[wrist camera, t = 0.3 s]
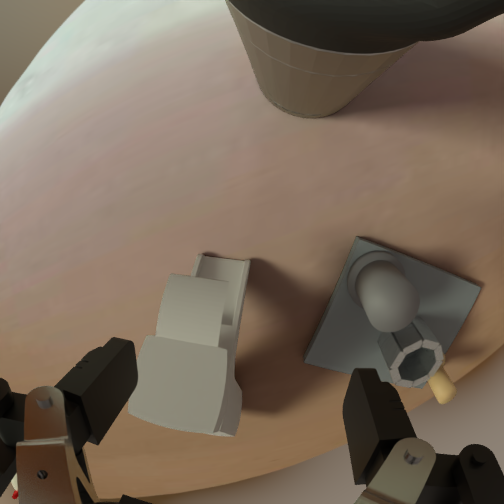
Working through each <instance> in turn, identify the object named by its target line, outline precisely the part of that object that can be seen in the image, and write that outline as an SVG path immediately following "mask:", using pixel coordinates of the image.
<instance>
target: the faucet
mask: <svg viewBox="0 0 504 504" xmlns="http://www.w3.org/2000/svg"><path fill="white" fill-rule="evenodd" d="M250 264H251V261H250V260H245V261H242V260H233V259H225V258H216V257H208V256H204V255H203V254H198V255H197V258H196V261H195V264H194V267H193V270H192V273H191V276H186V275H179V274H170V276H169V279H168V282H167V285H166V288H165V291H164V294H163V298H162V302H161V306H160V311H159V316H158V322H157V328H156V336H151V335H147V336H146V338H145V341H144V343H143V345H142V348H141V350H140V353H139V356H138V359H137V369H138V383H137V386H136V388H135V390H134V392H133V393H132V395H131V396H130V398H129V405H128V413H130V414H132V415H134V416H136V417H138V418H140V419H143V420H145V421H148V422H151V423H154V424H157V425H160V426H163V427H167V428H171V429H176V430H182V431H188V432H197V433H205V434H210V435H217V436H235V434H236V432H237V429H238V425H239V421H240V416H241V409H242V390H241V389H240V387H239V385H238V383H237V382H236V380H235V376H234V369H235V356H236V349H237V342H238V335H239V329H240V323H241V316H242V310H243V304H244V298H245V292H246V286H247V281H248V275H249V269H250Z"/></svg>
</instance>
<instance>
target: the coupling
mask: <svg viewBox="0 0 504 504" xmlns="http://www.w3.org/2000/svg"><path fill="white" fill-rule="evenodd" d="M377 343H378V345H379V348H380V351H381V354H382V356H383V359H384V361H385V363H386V366H387V368H388V371H389V373H390V375H391V378H392V380H393V383H394V384H395V385H398V386H403V387H409V388H411V387H412V386H413V387H415V386H417V385H419V384H421V383H423V382H425V381H427V380H429V379H430V376H431V377H433V376H434V374H435V373H436V371H437V370H438V368H439V367H440V365H441V364H442V362H443V361H442V360H443V359H444V358H443V352H442V347H441V344H440V343H439V341H438V340H437V338H436V337H435V336H434V334H433V333H432V331H431V330H430V329H429V327H428V326H427V325H426V323H425V322H424V321H423V319H422V318H420V317H417V316H415V318H414V319H413V321H412V322H411V323H410V324H408V325H407V326H406V327H405V328H403V329H401V330H398V331H395V332H381V334H380V336H379V337H378V342H377Z"/></svg>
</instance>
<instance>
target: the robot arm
mask: <svg viewBox="0 0 504 504" xmlns="http://www.w3.org/2000/svg"><path fill="white" fill-rule="evenodd" d="M225 1H226V4H227V6H228V8H229V11H230V13H231V15H232V17H233V20H234V22H235V24H236V27H237V29H238V32H239V34H240V37H241V39H242V42H243V45H244V47H245V50H246V52H247V55H248V57H249V60H250V63H251V65H252V68H253V71H254V74H255V76H256V78H257V81H258V84H259V86H260V89H261V90H262V92H263V94H264V95H265V97H266V98H267V99H268V100H269V101H270V102H271V103H272V104H273V105H274V106H276V107H277V108H279V109H280V110H282V111H283V112H286V113H288V114H291V115H293V116H297V117H302V118H319V117H325V116H328V115H331V114H333V113H336V112H337V111H339V110H340V109H342V108H343V107H344V106H346V105H347V104H348V103H349V102H350V101H351V100H352V99H354V98H355V97H356V96H357V95H358V94H359V93H360V92H361V91H363V90H364V89H365V88H366V87H367V86H368V85H369V84H371V83H372V82H373V81H374V80H375V79H376V78H377V77H379V76H380V75H381V74H382V73H383V72H384V71H385V70H387V69H388V68H389V67H390V66H391V65H392V64H394V63H395V62H396V61H397V60H398V59H399V58H401V57H402V56H403V55H404V54H405V53H406V52H407V51H408V50H410V49H411V48H412V47H413V46H414V45H416V44H417V43H418V42H419V41H434V40H441V39H446V38H450V37H454V36H457V35H459V34H462V33H464V32H466V31H468V30H470V29H472V28H474V27H476V26H478V25H480V24H482V23H484V22H486V21H488V20H490V19H492V18H494V17H496V16H498V15H501V14H503V13H504V0H225ZM137 383H138V369H137V362H136V354H135V347H134V343H133V342H132V341H130V340H125V339H121V338H116V337H113V338H111V339H110V340H109V341H108V342H107V343H106V344H105V345H104V346H103V347H98V348H96V349H94V350H92V351H90V352H88V353H87V354H86V355H85V356H84V357H83V358H82V360H81V361H79V362H78V363H77V364H76V366H75V367H73V368H72V369H71V370H70V371H69V372H68V373H67V374H66V375H65V376H64V377H63V378H62V379H61V380H60V381H59V382H58V383H57V384H56V385H55V386H54V387H52V386H41V387H37V388H35V389H33V390H31V391H30V392H29V393H28V395H26V394H20V393H15V392H11V389H10V387H9V384H8V382H7V381H6V380H4V379H2V378H0V497H1V495H2V494H3V492H4V491H5V489H6V488H7V486H8V485H9V483H10V482H11V480H12V479H13V477H14V476H15V475H16V473H17V485H18V497H19V504H152V503H148V502H145V501H142V500H138V499H136V498H132V497H129V496H127V495H124V494H123V495H122V497H121V500H120V502H100V500H99V498H98V496H97V494H96V491H95V489H94V485H93V482H92V478H91V474H90V470H89V466H88V462H87V458H86V453H85V449H84V447H83V446H84V444H85V443H86V442H87V441H88V442H91V443H93V444H96V445H99V443H100V442H101V440H102V439H103V437H104V436H105V434H106V433H107V431H108V430H109V428H110V427H111V425H112V423H113V422H114V420H115V419H116V417H117V416H118V414H119V413H120V411H121V410H122V408H123V407H124V405H125V404H126V402H127V401H128V399H129V398H130V396H131V395H132V393H133V392H134V390H135V388H136V386H137ZM343 419H344V425H345V430H346V435H347V441H348V446H349V452H350V458H351V464H352V470H353V475H354V482H355V485H360V484H366V487H367V488H366V489H365V490H364V491H363V492H362V494H361V495H360V496H359V498H358V499H357V500H356V502H355V503H354V504H504V475H503V472H502V470H501V468H500V466H499V464H498V462H497V460H496V458H495V456H494V454H493V452H492V451H490V449H489V448H487V447H485V446H483V445H479V444H471V445H468V446H466V447H465V448H463V450H462V451H461V452H460V454H459V455H447V454H438V453H435V450H434V449H433V447H432V446H431V445H430V444H429V443H428V442H426V441H424V440H422V439H419V438H417V437H416V434H415V432H414V429H413V427H412V424H411V422H410V420H409V417H408V416H407V413H406V410H404V406H403V403H402V402H401V399H400V396H399V394H398V392H397V390H396V389H395V388H394V387H393V386H392V385H391V384H390V383H389V382H381V380H380V377H379V375H378V372H377V370H376V369H375V368H355V369H354V370H353V372H352V376H351V379H350V382H349V386H348V389H347V392H346V395H345V399H344V403H343Z"/></svg>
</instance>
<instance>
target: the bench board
mask: <svg viewBox="0 0 504 504" xmlns="http://www.w3.org/2000/svg"><path fill="white" fill-rule="evenodd" d="M480 289H481V287H479V286H478V285H477V284H475V283H473V282H471V281H468V280H466V279H464V278H461V277H459V276H457V275H454V274H452V273H449V272H447V271H445V270H442V269H440V268H437V267H435V266H433V265H430V264H428V263H425V262H423V261H420V260H418V259H415V258H413V257H410V256H408V255H405V254H402V253H400V252H397V251H395V250H392V249H390V248H387V247H384V246H382V245H379V244H376V243H374V242H371V241H368V240H366V239H363V238H360V237H358V236H356V239H355V241H354V244H353V246H352V249H351V251H350V254H349V256H348V259H347V261H346V264H345V266H344V268H343V271H342V273H341V276H340V278H339V280H338V283H337V285H336V287H335V290H334V292H333V294H332V296H331V299H330V301H329V303H328V305H327V308H326V310H325V312H324V314H323V316H322V318H321V321H320V323H319V325H318V327H317V329H316V331H315V333H314V335H313V338H312V340H311V342H310V344H309V346H308V348H307V350H306V352H305V354H304V356H303V358H304V363H307V364H310V365H314V366H318V367H322V368H326V369H330V370H334V371H338V372H342V373H347V374H351V375H352V372H353V370H354V369H355V368H375V369H376V370H377V372H378V375H379V377H380V380H381V381H383V382H389V383H393V380H392V378H391V375H390V373H389V371H388V368H387V366H386V363H385V361H384V359H383V356H382V354H381V351H380V348H379V345H378V343H377V342H378V337H379V336H380V334H381V332H395V331H398V330H401V329H403V328H405V327H406V326H407V325H408V324H410V323H411V322H412V321H413V319H414V318H415V316H417V317H420V318H422V319H423V321H424V322H425V323H426V325H427V326H428V327H429V329H430V330H431V331H432V333H433V334H434V336H435V337H436V338H437V340H438V341H439V343H440V344H441V347H442V352H443V358H444V359H443V360H442V361H443V362H442V364H441V365H440V367H439V368H438V370H437V371H436V373H435V374H434V376H433V377H431V376H430V379H429V380H427V381H428V383H429V385H430V387H431V388H432V390H433V392H434V394H435V396H436V398H437V400H438V402H439V403H440V404H445V403H447V402H449V401H451V400H452V399H453V398H454V397H455V395H456V393H457V390H456V388H455V386H454V385H453V383H452V381H451V380H450V378H449V376H448V375H447V373H446V371H445V370H444V368H443V366H444V364H445V354H446V352H447V350H448V349H449V347H450V345H451V344H452V342H453V340H454V339H455V337H456V335H457V333H458V332H459V330H460V328H461V326H462V325H463V323H464V321H465V319H466V317H467V315H468V313H469V312H470V310H471V308H472V306H473V304H474V302H475V300H476V298H477V296H478V294H479V292H480ZM427 381H425V382H423V383H421V384H419V385H417V386H415V388H421V389H422V388H423V387H424V385H425V384H426V382H427ZM412 387H413V386H412Z"/></svg>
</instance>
